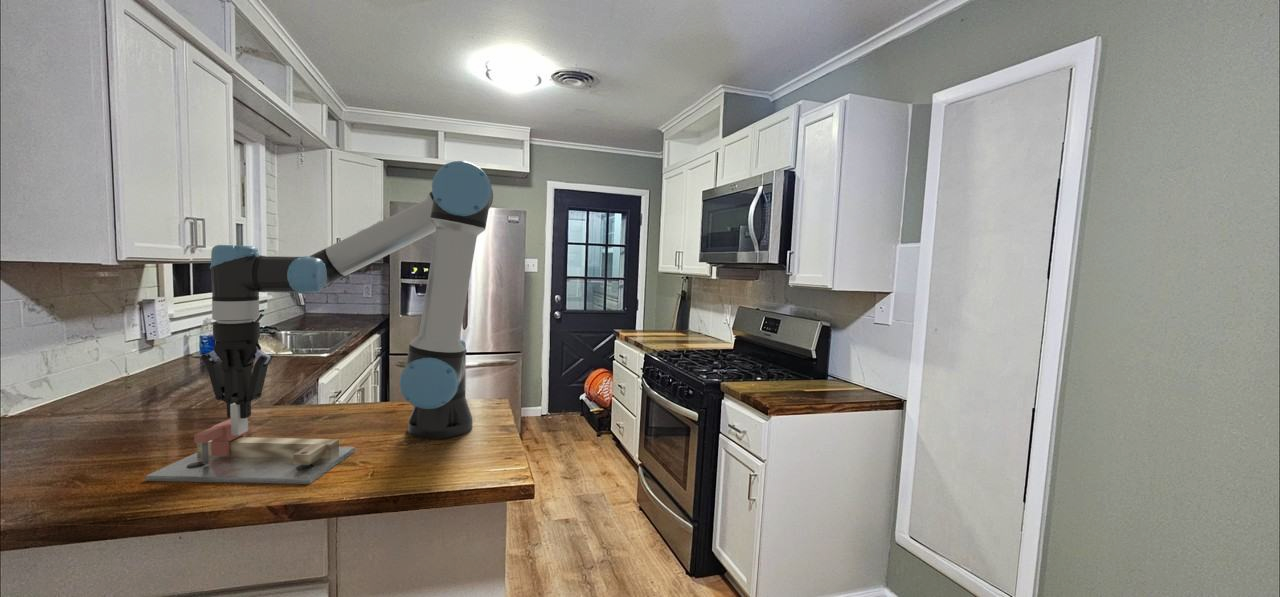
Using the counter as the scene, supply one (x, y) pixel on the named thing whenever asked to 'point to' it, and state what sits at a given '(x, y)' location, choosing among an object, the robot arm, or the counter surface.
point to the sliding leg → (216, 440)
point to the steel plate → (247, 469)
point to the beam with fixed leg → (281, 448)
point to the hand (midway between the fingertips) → (239, 432)
